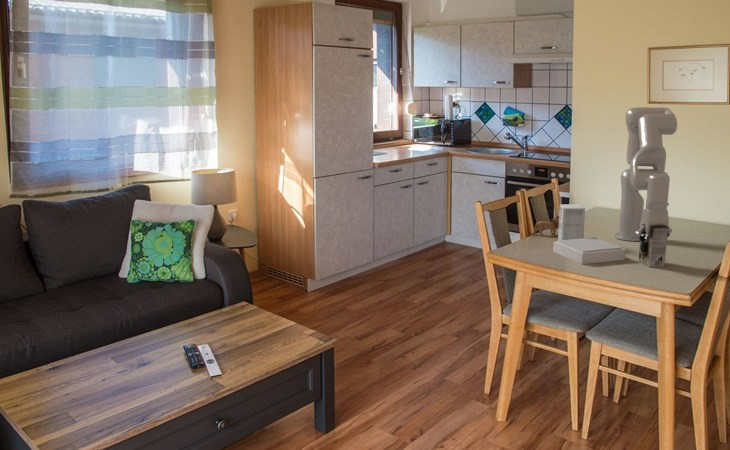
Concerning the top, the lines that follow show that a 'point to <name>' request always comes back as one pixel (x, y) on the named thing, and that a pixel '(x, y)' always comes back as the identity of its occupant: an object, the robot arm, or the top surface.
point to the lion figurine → (547, 226)
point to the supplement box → (571, 221)
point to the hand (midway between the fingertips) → (652, 250)
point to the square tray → (589, 250)
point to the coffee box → (655, 247)
